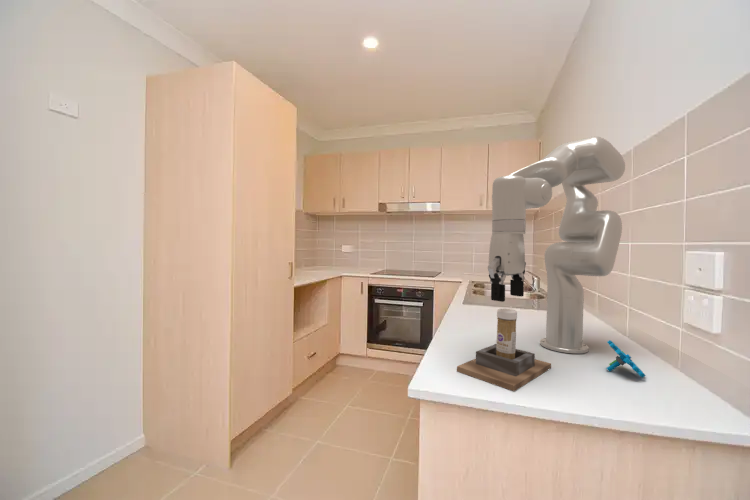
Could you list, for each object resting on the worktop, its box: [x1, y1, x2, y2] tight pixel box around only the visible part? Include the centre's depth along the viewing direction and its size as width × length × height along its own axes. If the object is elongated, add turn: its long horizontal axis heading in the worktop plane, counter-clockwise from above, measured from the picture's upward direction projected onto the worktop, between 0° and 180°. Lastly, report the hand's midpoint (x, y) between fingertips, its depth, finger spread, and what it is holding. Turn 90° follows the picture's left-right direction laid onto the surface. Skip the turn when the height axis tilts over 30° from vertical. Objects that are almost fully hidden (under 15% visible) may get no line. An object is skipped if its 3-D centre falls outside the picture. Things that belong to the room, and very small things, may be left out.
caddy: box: [456, 343, 552, 392], centre depth 80 cm, size 20×14×4 cm
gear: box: [606, 339, 647, 379], centre depth 80 cm, size 11×6×10 cm
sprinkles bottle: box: [495, 308, 518, 360], centre depth 80 cm, size 5×5×14 cm
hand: (507, 298), depth 80 cm, fingers open, 9 cm apart
